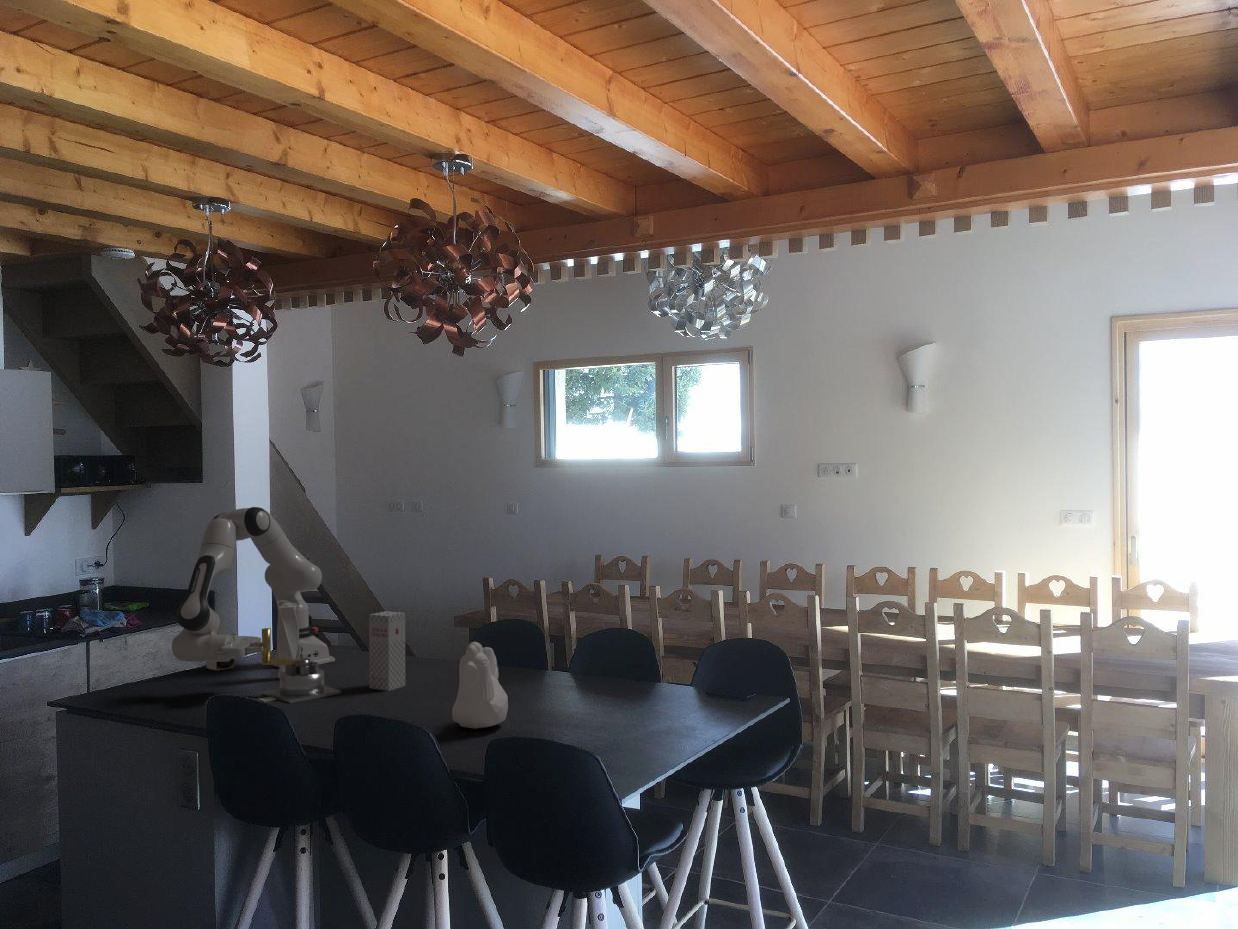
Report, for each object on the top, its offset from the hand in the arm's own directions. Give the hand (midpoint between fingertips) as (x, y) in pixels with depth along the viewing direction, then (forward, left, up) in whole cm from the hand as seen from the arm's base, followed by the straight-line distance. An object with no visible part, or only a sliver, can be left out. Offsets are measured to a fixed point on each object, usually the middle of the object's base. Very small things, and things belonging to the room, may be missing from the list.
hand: (266, 647), depth 324 cm
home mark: (+4, +7, -15) cm, 17 cm away
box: (-34, +20, -16) cm, 42 cm away
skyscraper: (-18, -18, -16) cm, 30 cm away
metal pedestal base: (-9, +8, -15) cm, 19 cm away
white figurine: (-27, +82, -16) cm, 87 cm away
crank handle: (-6, +5, -8) cm, 11 cm away
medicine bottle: (-9, -53, -16) cm, 56 cm away
